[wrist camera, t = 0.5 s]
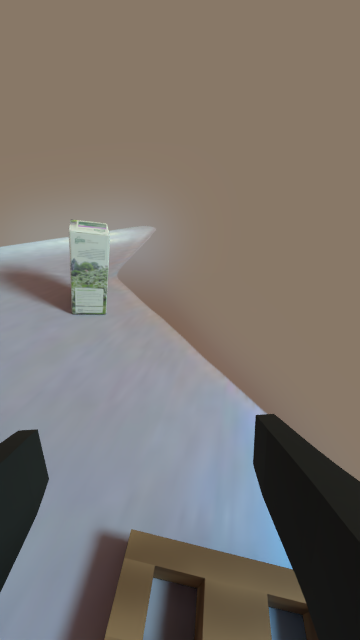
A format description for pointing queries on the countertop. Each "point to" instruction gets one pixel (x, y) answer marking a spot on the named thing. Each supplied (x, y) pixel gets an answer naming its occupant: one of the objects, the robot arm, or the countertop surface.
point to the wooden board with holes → (204, 590)
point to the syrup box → (89, 266)
